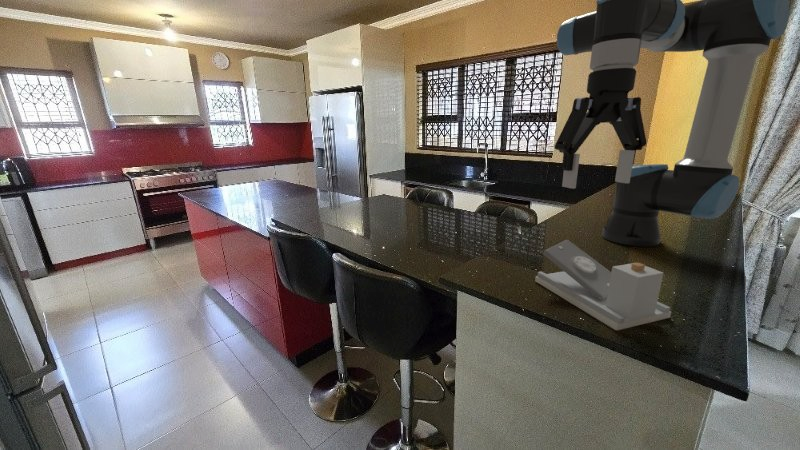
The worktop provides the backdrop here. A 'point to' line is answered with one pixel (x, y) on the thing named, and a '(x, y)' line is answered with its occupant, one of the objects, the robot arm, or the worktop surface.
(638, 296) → the rail board
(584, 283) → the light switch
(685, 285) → the worktop surface
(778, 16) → the robot arm
